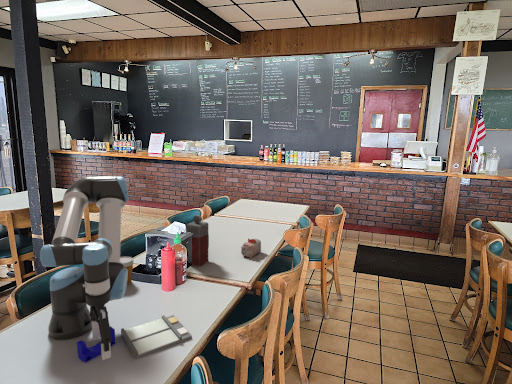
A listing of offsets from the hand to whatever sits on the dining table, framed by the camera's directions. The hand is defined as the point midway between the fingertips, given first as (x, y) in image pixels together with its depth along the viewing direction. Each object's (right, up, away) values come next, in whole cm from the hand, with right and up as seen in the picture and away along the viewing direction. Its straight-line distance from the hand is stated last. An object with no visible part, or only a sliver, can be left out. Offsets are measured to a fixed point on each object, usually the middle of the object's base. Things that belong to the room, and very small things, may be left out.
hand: (101, 347), depth 120 cm
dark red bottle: (+20, +13, +81) cm, 85 cm away
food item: (+50, +15, +94) cm, 108 cm away
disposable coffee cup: (-12, +9, +53) cm, 55 cm away
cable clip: (-2, -2, +1) cm, 3 cm away
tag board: (+16, -1, +11) cm, 19 cm away
